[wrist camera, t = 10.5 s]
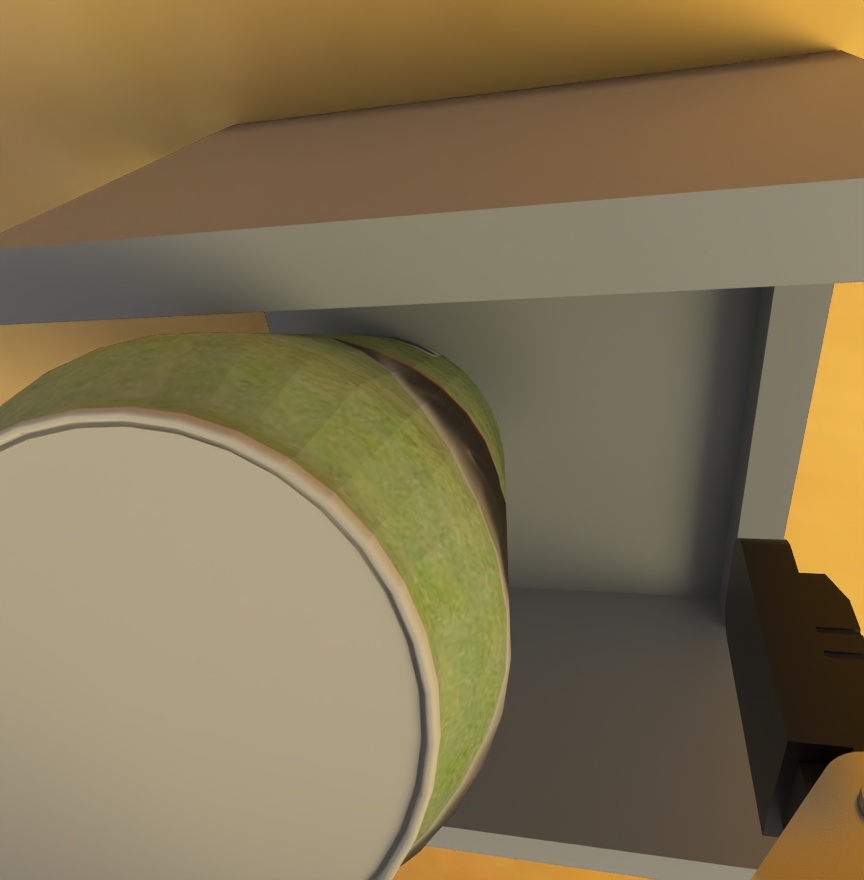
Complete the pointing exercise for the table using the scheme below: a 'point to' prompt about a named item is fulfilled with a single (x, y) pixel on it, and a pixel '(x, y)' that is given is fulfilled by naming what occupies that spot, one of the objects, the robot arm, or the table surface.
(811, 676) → the robot arm
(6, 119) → the table surface
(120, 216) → the holder
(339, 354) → the beverage can
